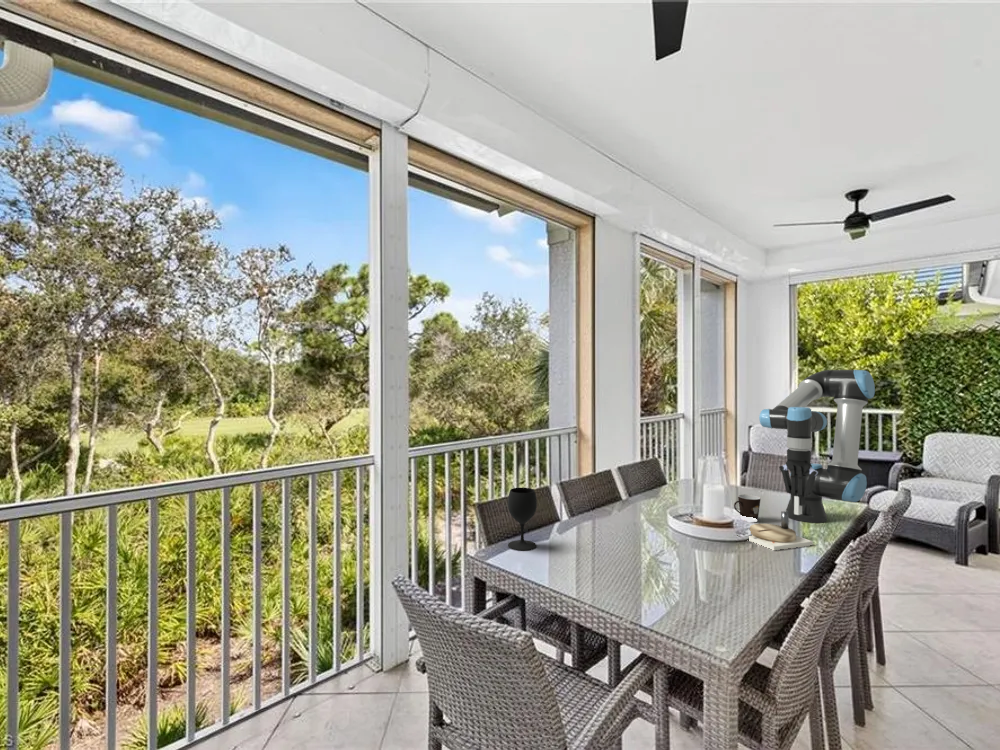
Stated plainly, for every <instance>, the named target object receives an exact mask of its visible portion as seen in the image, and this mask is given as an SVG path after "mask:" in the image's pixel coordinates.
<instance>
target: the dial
mask: <svg viewBox="0 0 1000 750" xmlns="http://www.w3.org/2000/svg"><path fill="white" fill-rule="evenodd" d="M780 513H781V515H780V519H781V520H780V522H781V523H780V525H779V524H774V523H752V524H751V525H749V529H750V531H751V534H752V535H753V536H755V537H758V538H761V539H765V540H770V541H778V542H790V541H794V540H795V539H796V536H797V533H796V530H794V529H792V528H790V527H789V522H790V520H789V519H790V518H789V512H786V510H785V511H784V510H783V511H781V512H780Z"/></svg>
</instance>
